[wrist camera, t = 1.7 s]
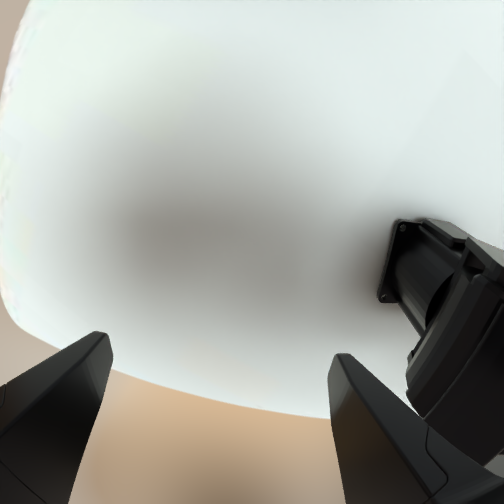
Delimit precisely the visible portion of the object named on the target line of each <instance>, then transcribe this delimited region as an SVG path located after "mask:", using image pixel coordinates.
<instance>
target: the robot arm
mask: <svg viewBox="0 0 504 504" xmlns="http://www.w3.org/2000/svg"><path fill="white" fill-rule="evenodd" d="M401 225H404V227H403V228H402V229H401V230H400V226H401ZM384 294H385V296H384V297H382V295H384ZM377 299H378V300H379V302H381V303H398V304H399V306H400V307H401V309H402V310H403V312H404V313H405V315H406V316H407V317H408V319H409V320H410V322H411V323H412V325H413V326H414V328H415V329H416V331H417V332H418V334H419V335H420V337H421V338H420V340H419V342H418V343H417V345H416V347H415V348H414V350H412V351H411V352H410V354H409V355H408V357H407V359H408V367H407V371H406V380H407V386H408V389H407V391H406V396H407V398H408V400H409V402H410V403H411V405H412V407H413V408H414V409H415V410H416V412H417V413H418V414H419V416H418V415H417V414H416V413H415V412H414V411H413V410H412V409H411V408H410V407H408V406H407V405H406V404H405V403H404V402H403V401H402V400H401V399H400V398H398V397H397V396H396V395H395V394H394V393H393V392H392V391H391V390H390V389H388V388H387V387H386V386H385V385H384V384H383V383H382V382H381V381H380V380H378V379H377V378H376V377H375V376H374V375H373V374H372V373H371V372H370V371H368V370H367V369H366V368H365V367H364V366H363V365H362V364H361V363H360V362H359V361H357V360H356V359H355V358H354V357H353V356H352V355H351V354H348V353H338V354H336V355H335V356H334V358H333V361H332V364H331V367H330V370H329V373H328V392H329V403H330V416H331V426H332V432H333V437H334V442H335V447H336V452H337V457H338V462H339V468H340V473H341V479H342V484H343V490H344V495H345V500H346V504H504V478H502V477H499V476H497V475H495V474H493V473H492V472H490V471H489V470H487V469H486V468H484V467H485V466H486V465H487V464H488V463H489V462H490V461H492V460H493V459H494V458H495V457H496V456H497V455H499V456H504V250H501V249H499V248H497V247H494V246H492V245H489V244H487V243H485V242H482V241H480V240H477V239H475V238H474V237H472V236H471V235H469V234H468V233H466V232H465V231H463V230H461V229H460V228H458V227H457V226H455V225H453V224H452V223H450V222H445V221H439V220H433V219H427V218H425V219H424V220H422V222H417V221H410V220H403V219H401V220H398V221H397V222H396V223H395V226H394V230H393V235H392V239H391V243H390V247H389V251H388V255H387V259H386V263H385V267H384V271H383V274H382V278H381V281H380V285H379V288H378V292H377ZM112 362H113V352H112V348H111V344H110V339H109V336H108V334H107V333H104V332H99V331H94V332H92V333H90V334H88V335H87V336H85V337H83V338H81V339H80V340H78V341H76V342H75V343H73V344H71V345H70V346H68V347H66V348H64V349H63V350H61V351H59V352H58V353H56V354H54V355H53V356H51V357H49V358H48V359H46V360H44V361H42V362H41V363H39V364H38V365H36V366H34V367H32V368H31V369H29V370H28V371H26V372H24V373H22V374H21V375H19V376H17V377H16V378H14V379H12V380H11V381H9V382H7V384H4V385H2V386H1V387H0V504H68V502H69V498H70V495H71V492H72V488H73V484H74V482H75V478H76V475H77V472H78V469H79V466H80V463H81V460H82V457H83V453H84V451H85V448H86V445H87V442H88V439H89V436H90V433H91V431H92V428H93V425H94V422H95V420H96V417H97V414H98V412H99V409H100V406H101V403H102V400H103V396H104V392H105V388H106V384H107V380H108V377H109V373H110V370H111V366H112Z"/></svg>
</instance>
